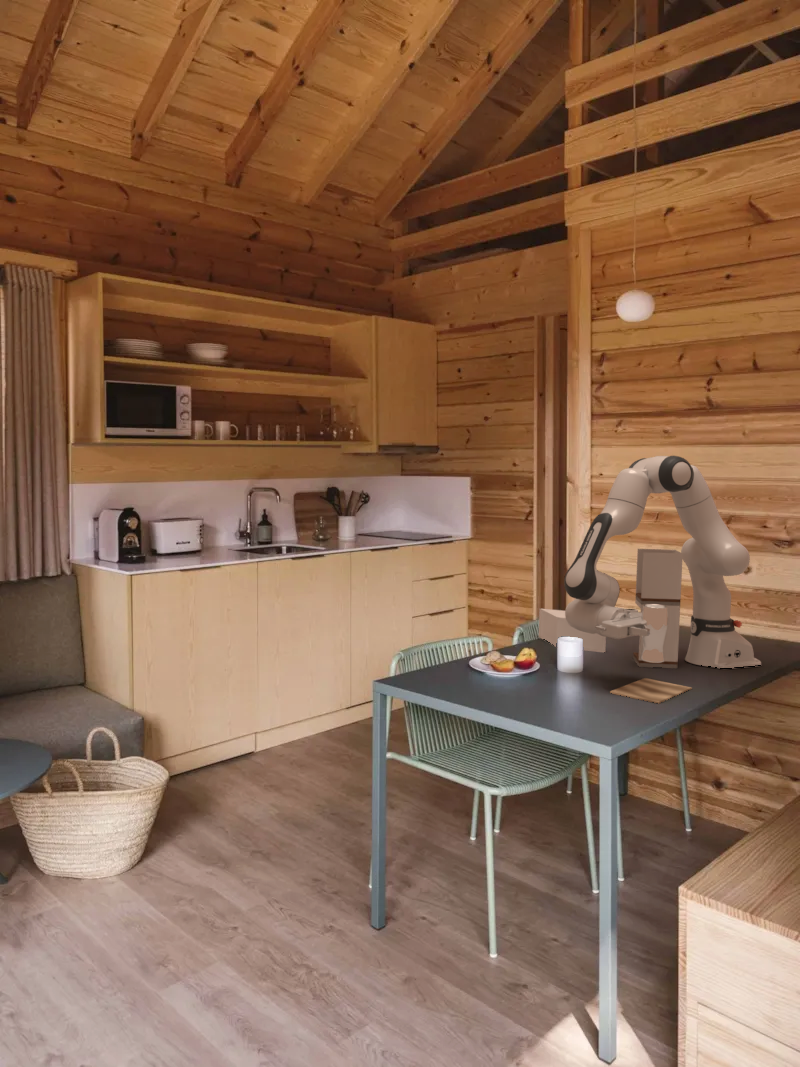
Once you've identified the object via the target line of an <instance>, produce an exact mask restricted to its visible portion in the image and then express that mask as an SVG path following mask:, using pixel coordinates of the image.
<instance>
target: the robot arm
mask: <svg viewBox="0 0 800 1067" xmlns="http://www.w3.org/2000/svg"><path fill="white" fill-rule="evenodd" d="M609 490H610V491H609V493H608V496H607V499H606V503H605V505H604V506H603V508H602V511H600V514H598V515H596V516H595V518H594V519H593V520H592V522H591V524H590V526H589V528H588V530H587V532H586V534H585V536H584V539H583V542H582V544H581V546H580V547H579V550H578V552H577V555H575V556H576V557H575V559H574V561H573V562H572V563H571V564H570V566H569V568H568V569H567V571H566V573H565V576H564V577H563V578H564V579H563V580H564V581H563V584H564V586H563V587H564V590H565V593H567V595H568V596H569V597H571V598H573V600H572V601H570V602H568V604H567V605H566V607H565V610H564V611H565V617H566V620H567V622H568V624H569V625H570V626H571V627H573V628H575V629H577V630H579V631H583V632H586V633H591V634H595V633H597V634H599V635H601V636H604V637H606V638H609V639H613V640H620V639H625V638H631V637H635V636H639V637H640V636H649V634H650V633H649V632H650V631H649V630H648V629H641V615H642V613H641V611H640V612H639V610H638V609H635V608H623V607H618V606H617V605H616V604H617V602H618V600H619V599H618V598H619V596H620V591H621V590H620V589H621V588H620V584H619V582H618V580H617V579H616V578H615V577H614V576H611V575H610V574H608V573H605V572H602V571H600V570H597V564H598V562H599V558H600V557H601V556H602V555H601V554H602V552H603V550H604V548H605V545H606V544H607V541H608V540H610V539H611V538H612V537H615V536H624V535H628V534H630V533H632V532H634V531H635V530H637V528H639V525H640V524H641V521H642V519H643V515H644V511H645V509H646V506H647V505H646V504H647V500H648V497H649V496H650V495H651V494H665V493H669V494H670V495H671V498H672V501H673V503H674V507H675V509H676V511H677V514H678V516H679V519H680V523H681V524H682V527H683V529H684V530H685V532H687V533H688V534H689V535H690V536H691V537H690V538H688V539H686V540H685V542H684V543H683V545H682V547H681V550H680V551H681V553H682V554H683V558H682V562H684V563H685V565H686V567H687V569H688V572H689V576H690V580H691V585H692V593H693V594H692V595H693V596H692V599H693V600H692V615H691V617H690V626H689V628H690V639H689V645H688V649H687V653H686V655H685V657H684V660H685V661H686V662H688V663H690V664H693V665H697V666H701V665H702V667H708V666H711V667H710V668H715V667H717V668H716V669H720V668H732V669H735V668H734V667H743V666H755V665H761V666H762V661H761V660H760V659H758V658H756V657H755V656H754V655H755V654H754V649H753V648H754V647H753V644H752V643H751V642H750V641H748V640H747V639H746V638H745V637H744V636H742V635H741V634H740V633H739V632H738V631H737V630H736V628H742V626H743V622H742V621H740V620H738V619H737V620H734V619H733V618H731V607H732V606H731V605H732V592H731V591H730V590H729V587H727V585H726V582H725V579H724V577H732V576H739V575H742V574H743V573H744V572H746V570H747V569H748V567H749V565H750V563H751V562H750V561H751V558H750V552H749V551H748V549H747V548H746V546H744V545H743V544H742V543H741V542H739V541H738V539H736V537H735V536H734V534H733V533H732V532H731V530H730V529H729V528H728V526H727V524H726V523H725V522H724V520H723V518H722V516H721V515H720V513H719V511H718V508H717V506H716V503H715V500H714V498H713V495H712V493H711V490H710V488H709V485H708V483H707V481H706V479H705V478H704V476H703V474H702V472H701V471H700V469H699V468H698V467H697V466H696V465H693V464H691V463H690V462H689V461H688V460H687V459H685V458H684V457H682V456H678V455H656V456H653V457H652V456H651V457H646V458H645V457H644V458H640V459H637V460H635V461H634V462H632V463H631V464H630V465H629V467H628V468H624V469H622V470H621V471H619V472H618V474H617V476H616V478H615V479H614V481H613V483H612V486H611V488H610V489H609ZM616 606H617V607H616ZM735 627H736V628H735ZM755 667H756V666H755Z"/></svg>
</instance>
